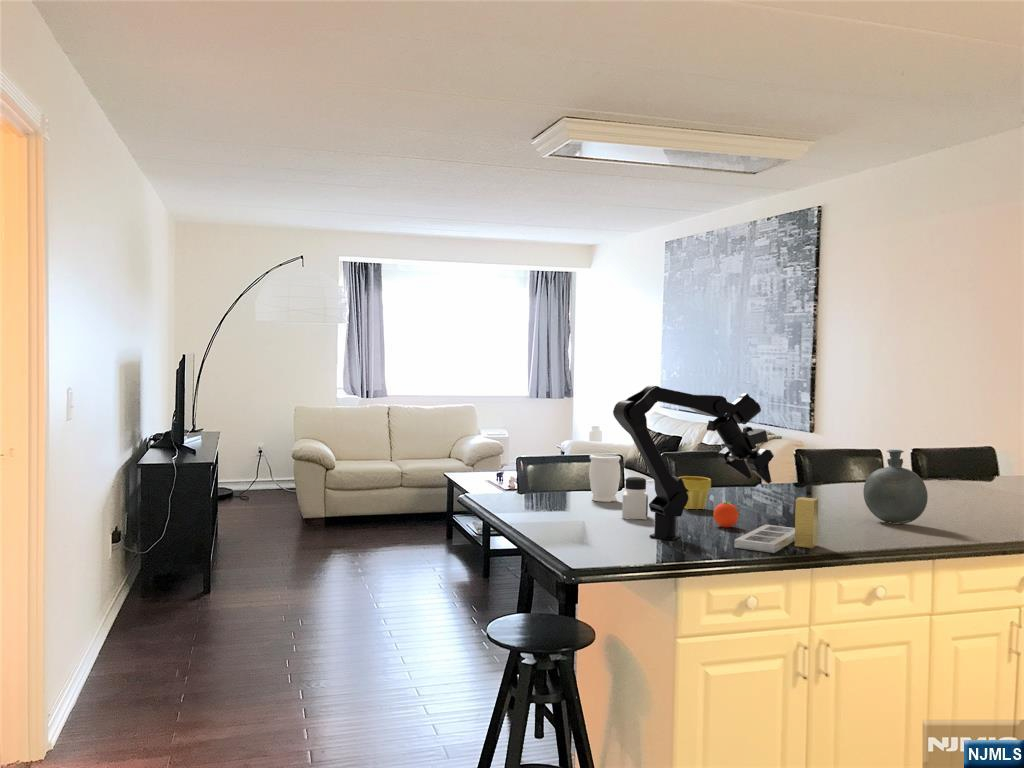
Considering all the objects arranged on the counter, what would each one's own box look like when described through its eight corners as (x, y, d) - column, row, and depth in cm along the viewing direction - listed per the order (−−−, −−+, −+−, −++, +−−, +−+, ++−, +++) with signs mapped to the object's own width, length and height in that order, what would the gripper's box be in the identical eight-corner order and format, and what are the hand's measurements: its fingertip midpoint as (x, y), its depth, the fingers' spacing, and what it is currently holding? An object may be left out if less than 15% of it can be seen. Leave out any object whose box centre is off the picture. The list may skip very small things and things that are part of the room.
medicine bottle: (646, 520, 250) (647, 479, 249) (622, 519, 251) (622, 478, 251) (647, 516, 257) (648, 476, 256) (623, 514, 258) (624, 475, 258)
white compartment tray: (774, 553, 208) (774, 544, 208) (734, 547, 214) (734, 539, 214) (802, 536, 230) (802, 528, 230) (765, 531, 236) (765, 524, 236)
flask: (883, 517, 262) (885, 446, 262) (932, 527, 247) (934, 451, 246) (856, 520, 257) (858, 447, 256) (905, 530, 242) (907, 453, 241)
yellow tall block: (812, 548, 215) (813, 501, 215) (794, 546, 217) (795, 499, 217) (817, 545, 219) (818, 498, 218) (799, 543, 221) (800, 497, 221)
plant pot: (717, 510, 269) (717, 479, 269) (689, 512, 265) (689, 480, 265) (698, 505, 279) (699, 475, 279) (671, 506, 275) (671, 476, 275)
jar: (582, 498, 288) (583, 454, 287) (609, 497, 292) (610, 453, 292) (598, 503, 278) (599, 457, 278) (625, 502, 283) (626, 457, 282)
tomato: (721, 523, 247) (722, 499, 247) (744, 526, 243) (744, 501, 242) (708, 527, 241) (709, 502, 241) (731, 530, 236) (732, 505, 236)
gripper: (773, 419, 223) (801, 466, 226) (734, 415, 241) (761, 458, 244) (742, 444, 221) (772, 492, 224) (705, 438, 239) (733, 482, 242)
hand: (759, 480), depth 233 cm, fingers open, 9 cm apart
